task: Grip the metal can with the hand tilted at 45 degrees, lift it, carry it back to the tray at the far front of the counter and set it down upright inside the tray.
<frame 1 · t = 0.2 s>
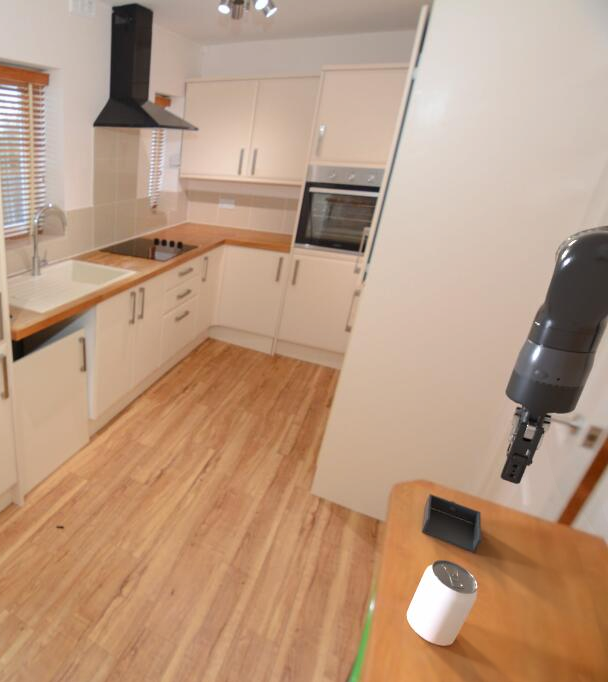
hand: (512, 467, 71), 25 cm above the countertop, tool pointing down, fingers open, 8 cm apart
can: (429, 627, 73), on the countertop
tray: (448, 529, 91), on the countertop
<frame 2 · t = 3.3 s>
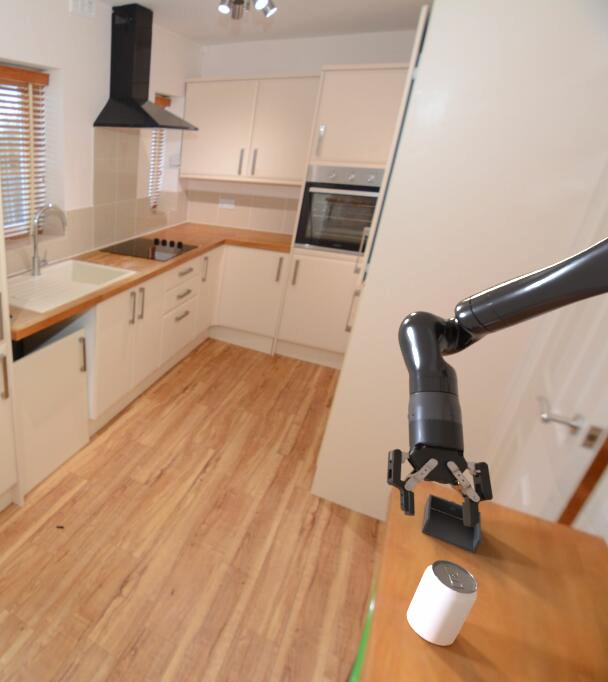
hand: (439, 520, 74), 15 cm above the countertop, tool tilted 45°, fingers open, 8 cm apart
nothing on the countertop moved.
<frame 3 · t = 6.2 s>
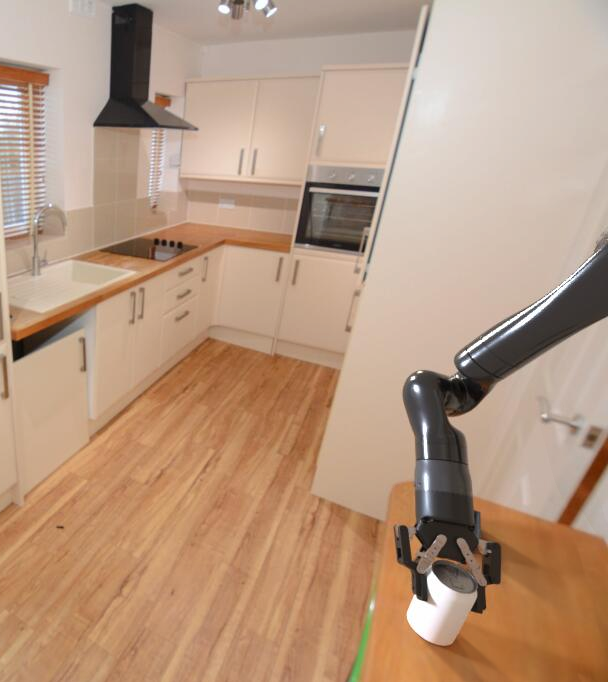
hand: (448, 606, 69), 7 cm above the countertop, tool tilted 45°, fingers closed on can, 6 cm apart
can: (429, 627, 73), on the countertop, touching gripper
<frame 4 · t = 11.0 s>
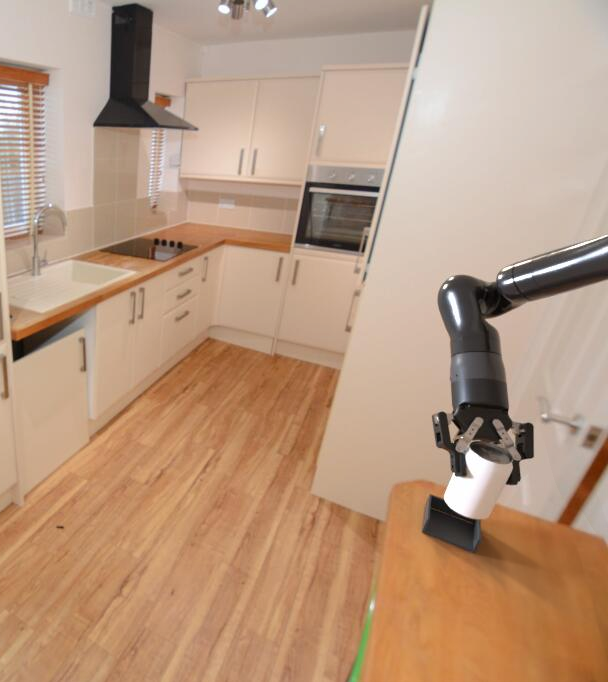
hand: (485, 480, 74), 20 cm above the countertop, tool tilted 45°, fingers closed on can, 6 cm apart
can: (465, 507, 79), point 13 cm above the countertop, touching gripper
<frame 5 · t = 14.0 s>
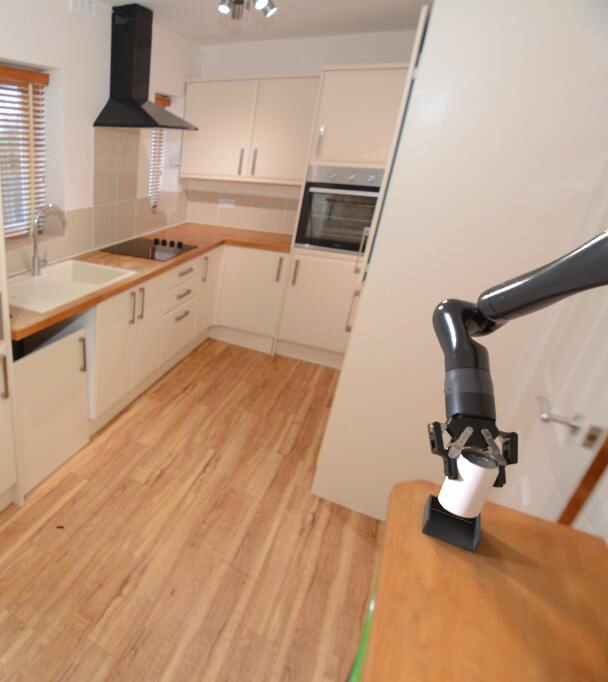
hand: (475, 483, 84), 13 cm above the countertop, tool tilted 45°, fingers closed on can, 6 cm apart
can: (457, 507, 88), point 6 cm above the countertop, touching gripper
when the fingers open (8 cm above the countertop, at t = 16.1 s): can stays where it is, resting on tray.
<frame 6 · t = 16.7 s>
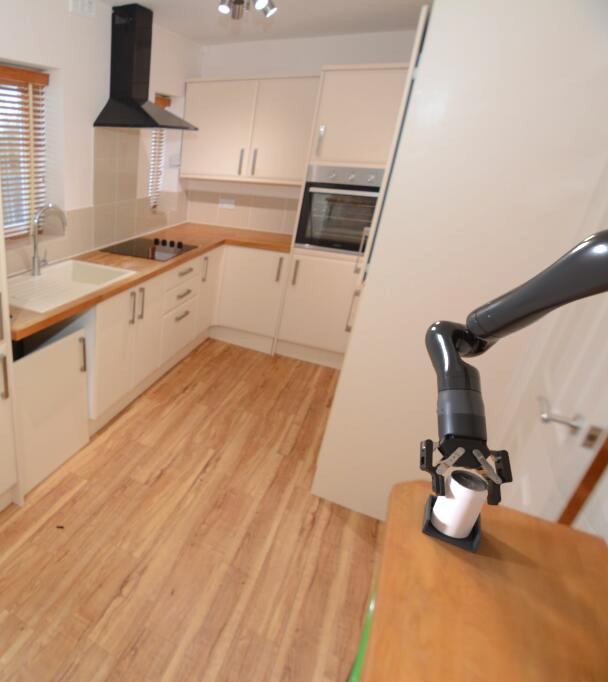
hand: (466, 500, 86), 9 cm above the countertop, tool tilted 45°, fingers open, 8 cm apart
can: (448, 527, 91), resting on tray
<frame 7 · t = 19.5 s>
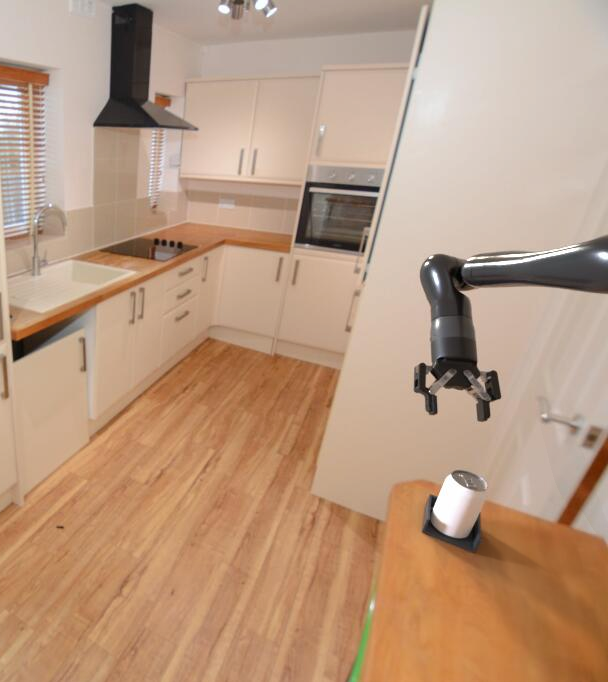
hand: (457, 417, 91), 20 cm above the countertop, tool tilted 45°, fingers open, 8 cm apart
nothing on the countertop moved.
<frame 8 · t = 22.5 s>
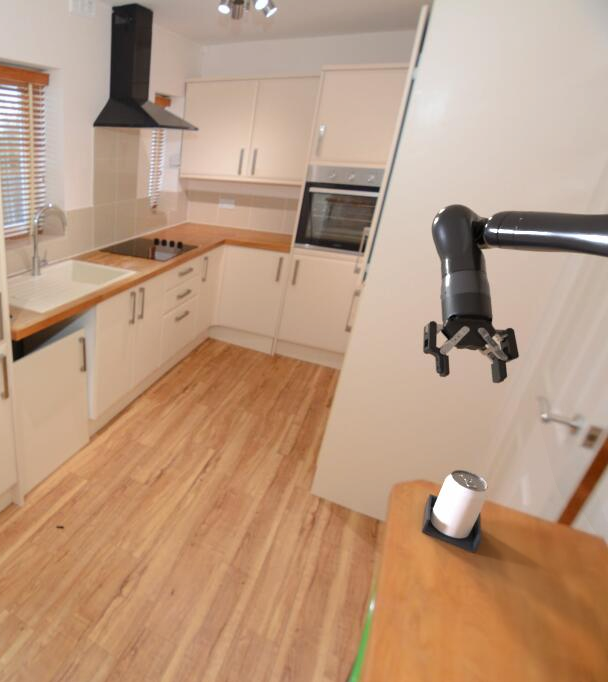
hand: (471, 378, 84), 31 cm above the countertop, tool tilted 45°, fingers open, 8 cm apart
nothing on the countertop moved.
at the end: can inside the target area in the tray (0.7 cm from its centre), point 0.3 cm above the tray's base; can tilted 0°; the gripper is holding nothing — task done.
